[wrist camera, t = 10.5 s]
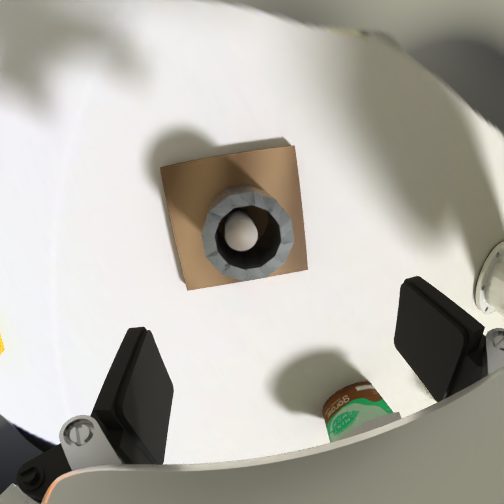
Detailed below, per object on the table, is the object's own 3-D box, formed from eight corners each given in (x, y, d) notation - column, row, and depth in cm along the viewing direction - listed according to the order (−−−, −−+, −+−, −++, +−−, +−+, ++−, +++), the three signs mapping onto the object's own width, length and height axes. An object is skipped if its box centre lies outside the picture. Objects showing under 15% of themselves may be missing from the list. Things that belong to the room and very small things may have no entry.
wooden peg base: (292, 145, 25) (311, 143, 20) (305, 265, 29) (323, 292, 24) (162, 166, 25) (145, 170, 19) (188, 286, 29) (181, 317, 23)
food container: (344, 369, 35) (372, 423, 25) (375, 374, 36) (405, 422, 27) (299, 424, 38) (314, 475, 29) (331, 426, 39) (349, 473, 30)
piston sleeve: (272, 179, 25) (287, 186, 19) (281, 247, 27) (296, 271, 22) (201, 191, 25) (194, 201, 19) (213, 258, 27) (212, 286, 21)
